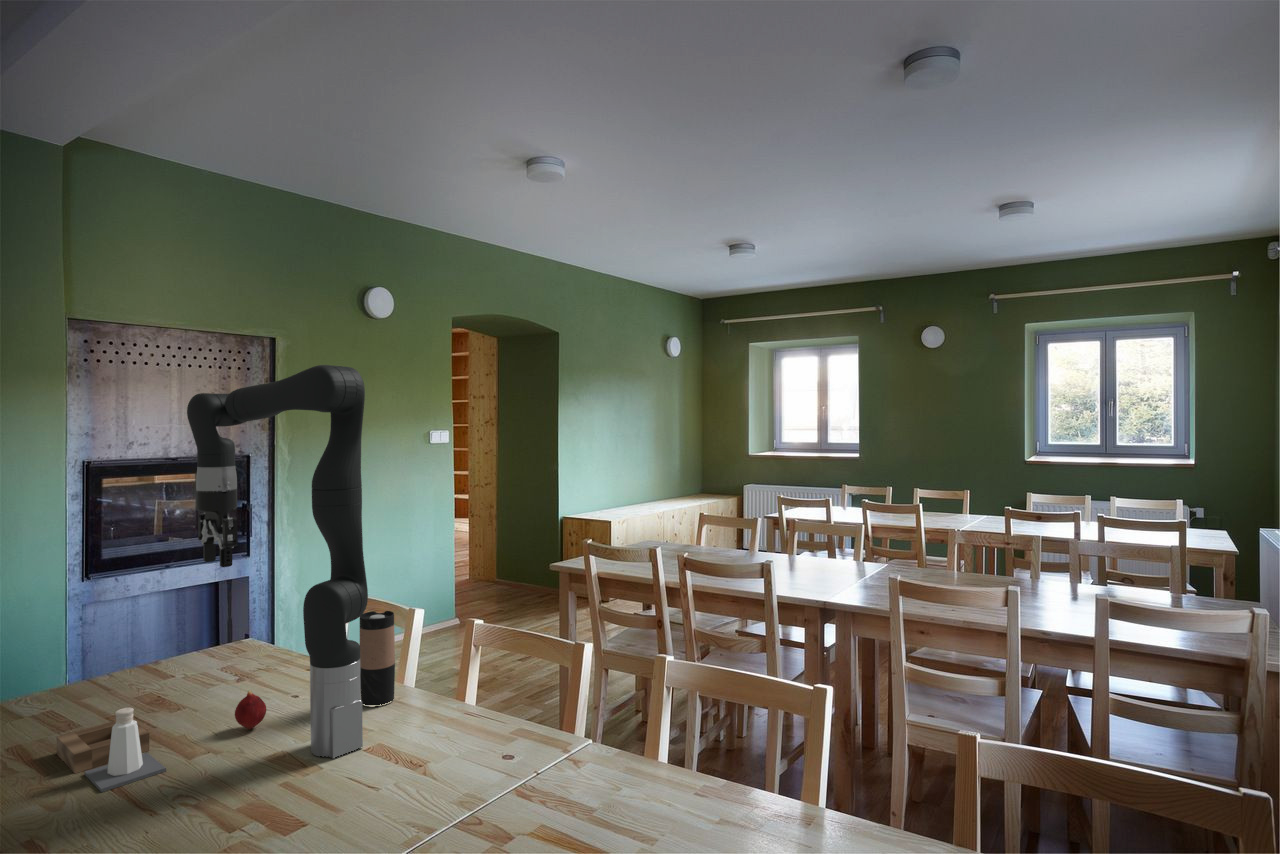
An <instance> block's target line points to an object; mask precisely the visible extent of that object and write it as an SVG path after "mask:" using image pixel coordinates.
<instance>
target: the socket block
mask: <svg viewBox="0 0 1280 854" xmlns="http://www.w3.org/2000/svg"><path fill="white" fill-rule="evenodd" d="M115 724H116V720H113V721H110V722H104V723H101V724H99V725H94V726H91V727H87V728H84V729H80V730H77V731H76V730H75V731H72V732H69V733H65V734H64V733H63V734H62V735H57V736H56V755H57V756H58V758H60V759H61V761H62V762H63V761H64V762H65V763H64V762H63V763H64V764H65V765H66V766H67V767H68V768H69V769H70V770H71V771H72V773H74V774H77V773H80V772H85V771H88V770H91V769H94V768H98V767H101V766H104V765H107V764H108V762H109V753H110V744H111V734H112V727H113V726H114V725H115ZM137 725H138V732H139V739H140V746H141V753H142V754H143V753H148V752H150V732H148V730H146V729H145V728H143V727H142V726H141V725H140V724H138V723H137Z"/></svg>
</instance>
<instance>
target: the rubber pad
mask: <svg viewBox="0 0 1280 854" xmlns="http://www.w3.org/2000/svg"><path fill="white" fill-rule="evenodd" d="M142 760H143V765H142V766H141V767H140V769H139V770H137V771H135V772H132V773H130V774H127V775H120V776H113V775H110V774H108V773H107V772H108V763H107V764H104V765H101V766H98V767H94V768H91V769H88V770H84V771H83V773H84V776H85V777H86V778H87V779H88V781H90V783H91V784H93V785H94V786H95V787H96V789H97V790H99V792H100V793H104V792H106V791H110V790H113V789H116V788H119V787H122V786H126V785H127V784H131V783H134V782H137V781H141V780H143V779H146V778H150V777H153V776H156V775H159V774H162V773H165V772H167V767H166V766H164V765H163V764H162V763H161V762H160V761H158V760H157V759H156V758H155V757H153V756H152V755H151V754H150V753H148V752H143V753H142Z"/></svg>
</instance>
